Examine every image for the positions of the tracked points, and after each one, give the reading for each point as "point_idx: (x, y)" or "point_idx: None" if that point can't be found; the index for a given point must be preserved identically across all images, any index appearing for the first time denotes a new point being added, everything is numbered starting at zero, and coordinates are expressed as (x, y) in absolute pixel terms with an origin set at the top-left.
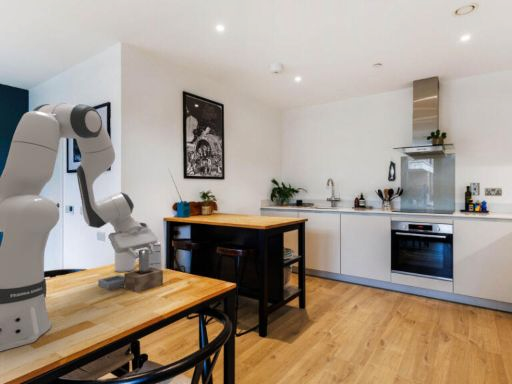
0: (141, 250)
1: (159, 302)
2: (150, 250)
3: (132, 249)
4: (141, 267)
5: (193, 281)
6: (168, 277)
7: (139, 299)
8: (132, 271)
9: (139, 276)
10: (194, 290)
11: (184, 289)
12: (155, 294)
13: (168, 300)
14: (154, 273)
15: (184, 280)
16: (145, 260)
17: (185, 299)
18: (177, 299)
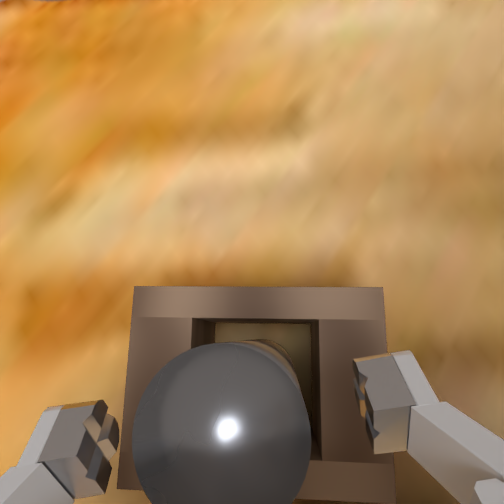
0: (250, 465)
1: (360, 79)
2: (85, 440)
3: (477, 483)
4: (292, 367)
5: (31, 199)
6: (41, 403)
7: (407, 188)
8: (309, 497)
9: (355, 290)
10: (143, 83)
11: (160, 132)
12: (305, 187)
13: (316, 69)
14: (216, 287)
15: (41, 258)
16: (256, 343)
17: (257, 24)
18: (280, 49)
